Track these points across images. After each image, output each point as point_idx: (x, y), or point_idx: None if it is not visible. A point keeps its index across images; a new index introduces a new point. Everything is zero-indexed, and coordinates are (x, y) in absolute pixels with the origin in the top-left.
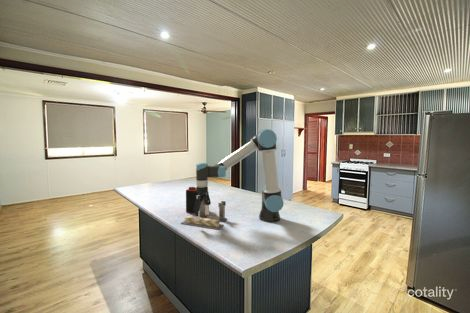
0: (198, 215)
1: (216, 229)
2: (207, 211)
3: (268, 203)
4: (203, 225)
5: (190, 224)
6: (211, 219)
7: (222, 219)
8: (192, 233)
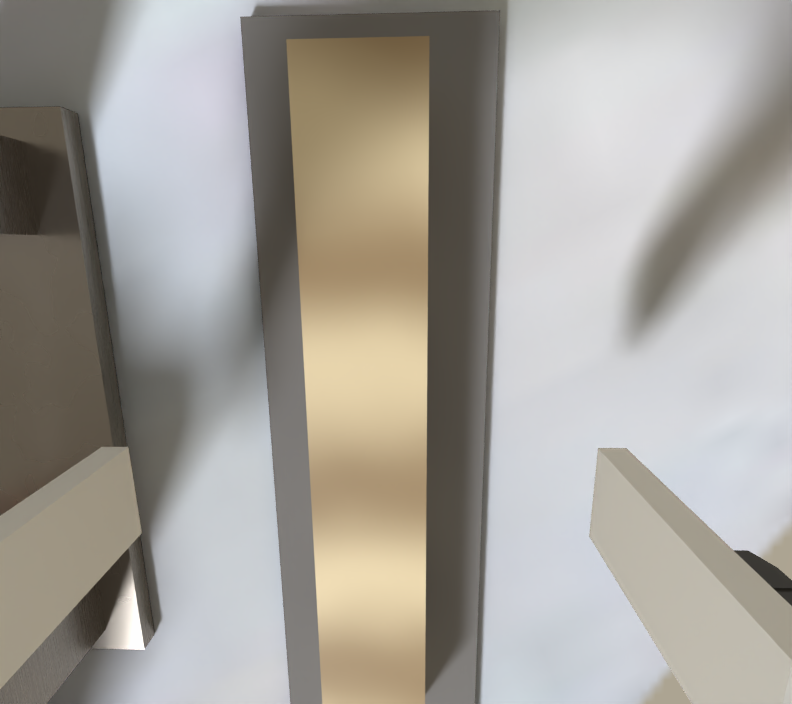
0: (712, 550)
1: (494, 72)
2: (80, 522)
3: None
4: (439, 379)
5: (477, 590)
6: (324, 267)
7: (15, 154)
8: (778, 397)
